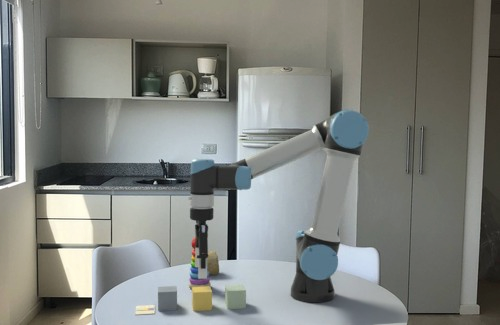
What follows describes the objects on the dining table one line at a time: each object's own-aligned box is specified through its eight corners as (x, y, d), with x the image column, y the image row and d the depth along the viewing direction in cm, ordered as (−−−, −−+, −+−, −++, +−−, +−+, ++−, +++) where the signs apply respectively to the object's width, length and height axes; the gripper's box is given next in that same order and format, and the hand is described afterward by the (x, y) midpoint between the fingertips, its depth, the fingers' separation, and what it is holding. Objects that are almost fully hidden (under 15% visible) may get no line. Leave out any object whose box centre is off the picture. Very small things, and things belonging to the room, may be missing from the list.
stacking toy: (199, 282, 198) (199, 233, 197) (215, 286, 193) (215, 236, 192) (184, 287, 192) (184, 236, 191) (199, 291, 187) (199, 239, 186)
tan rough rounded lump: (228, 259, 206) (205, 250, 204) (217, 283, 207) (194, 273, 204) (225, 252, 215) (203, 243, 213) (215, 274, 216) (192, 265, 214)
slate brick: (176, 303, 174) (176, 286, 174) (177, 309, 168) (177, 291, 168) (158, 304, 173) (157, 286, 173) (158, 310, 167) (157, 292, 167)
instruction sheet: (154, 305, 172) (154, 304, 172) (154, 313, 164) (154, 312, 164) (136, 306, 171) (136, 305, 171) (135, 314, 163) (135, 314, 163)
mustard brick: (210, 304, 174) (210, 286, 174) (212, 310, 168) (212, 291, 168) (191, 305, 173) (191, 287, 173) (193, 311, 167) (193, 292, 167)
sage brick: (243, 302, 176) (243, 284, 176) (245, 308, 170) (246, 290, 170) (225, 303, 175) (225, 285, 175) (227, 309, 169) (227, 291, 169)
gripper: (187, 201, 180) (187, 263, 182) (192, 213, 156) (191, 283, 157) (209, 201, 182) (208, 262, 183) (217, 213, 157) (216, 283, 158)
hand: (200, 272), depth 170 cm, fingers open, 13 cm apart
